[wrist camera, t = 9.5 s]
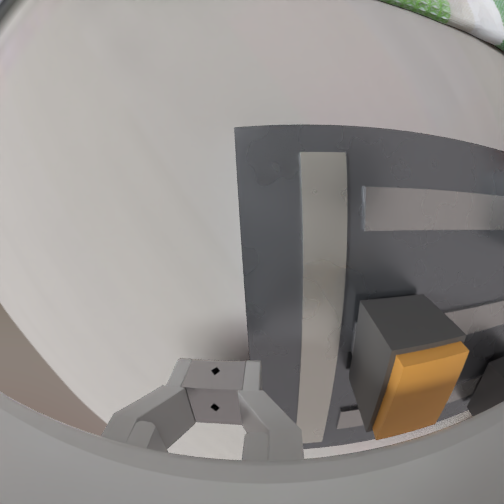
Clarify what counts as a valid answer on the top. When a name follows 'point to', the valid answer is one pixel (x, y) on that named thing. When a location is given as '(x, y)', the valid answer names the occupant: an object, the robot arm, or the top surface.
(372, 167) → the panel
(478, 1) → the dish towel
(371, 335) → the breaker mid
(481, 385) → the block
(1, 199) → the top surface
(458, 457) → the robot arm
